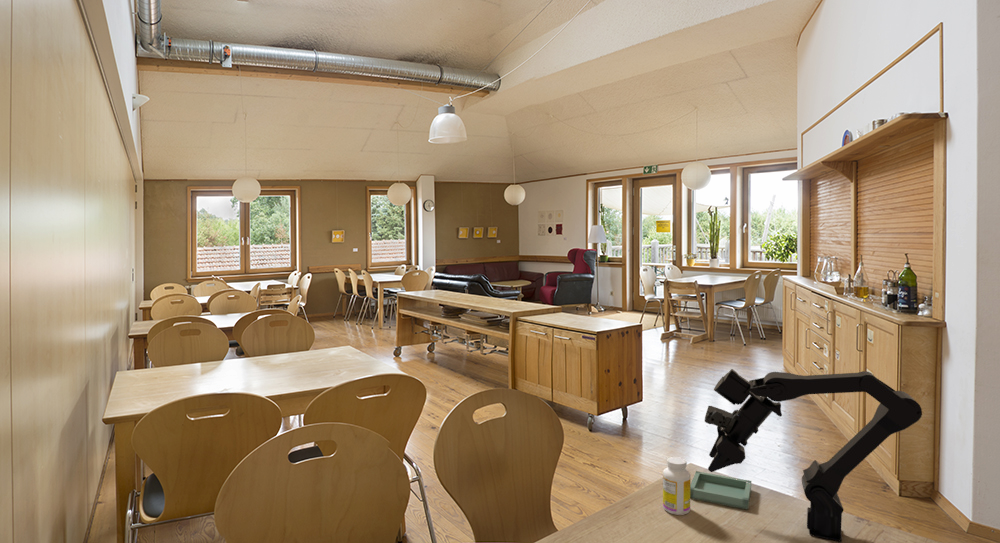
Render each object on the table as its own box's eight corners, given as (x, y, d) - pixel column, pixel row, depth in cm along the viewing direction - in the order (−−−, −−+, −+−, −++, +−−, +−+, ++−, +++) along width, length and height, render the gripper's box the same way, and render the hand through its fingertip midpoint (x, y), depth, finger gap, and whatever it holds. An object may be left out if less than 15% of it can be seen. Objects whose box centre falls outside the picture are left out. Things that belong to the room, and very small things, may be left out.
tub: (751, 489, 156) (751, 480, 156) (747, 509, 145) (748, 500, 145) (695, 479, 162) (696, 471, 162) (688, 498, 151) (688, 488, 151)
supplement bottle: (686, 503, 148) (687, 455, 147) (692, 516, 142) (693, 466, 141) (660, 502, 149) (661, 454, 148) (665, 515, 142) (665, 465, 141)
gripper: (721, 385, 149) (685, 429, 153) (720, 406, 131) (679, 455, 136) (759, 413, 146) (721, 457, 150) (763, 438, 129) (720, 487, 133)
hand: (710, 463), depth 142 cm, fingers open, 9 cm apart
